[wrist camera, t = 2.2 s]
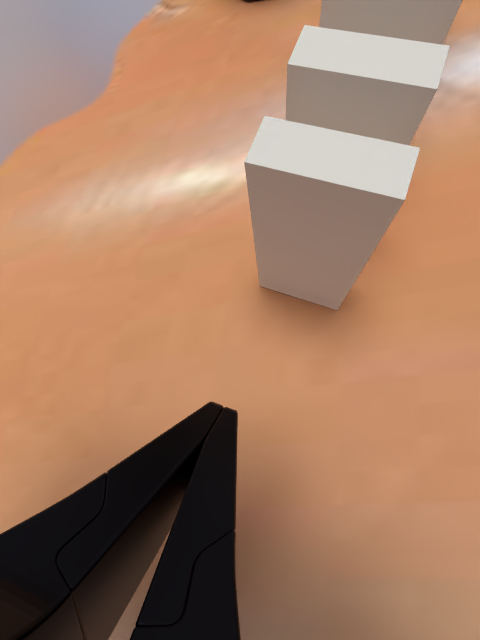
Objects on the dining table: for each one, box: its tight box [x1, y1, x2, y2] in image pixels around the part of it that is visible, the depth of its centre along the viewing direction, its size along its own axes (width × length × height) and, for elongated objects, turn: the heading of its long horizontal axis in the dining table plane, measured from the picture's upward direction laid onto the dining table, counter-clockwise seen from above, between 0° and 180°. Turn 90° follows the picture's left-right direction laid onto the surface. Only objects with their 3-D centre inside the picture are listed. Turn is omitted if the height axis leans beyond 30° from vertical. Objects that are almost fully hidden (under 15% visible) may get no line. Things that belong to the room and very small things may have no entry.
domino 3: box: [319, 0, 462, 45], centre depth 18 cm, size 2×5×11 cm, turn 69°
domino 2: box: [286, 25, 450, 145], centre depth 17 cm, size 2×5×11 cm, turn 69°
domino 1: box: [244, 116, 420, 310], centre depth 16 cm, size 2×5×11 cm, turn 69°
